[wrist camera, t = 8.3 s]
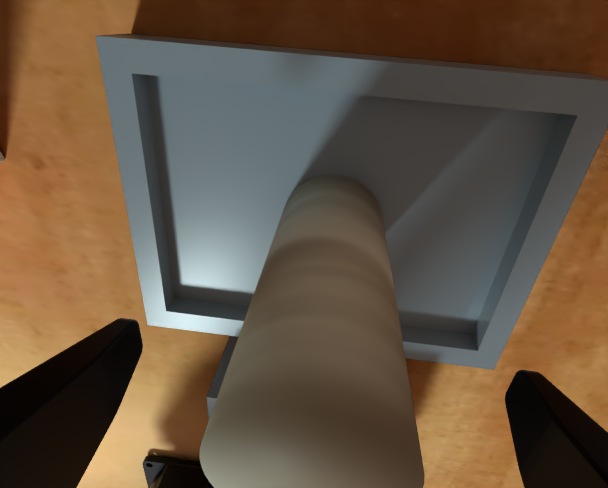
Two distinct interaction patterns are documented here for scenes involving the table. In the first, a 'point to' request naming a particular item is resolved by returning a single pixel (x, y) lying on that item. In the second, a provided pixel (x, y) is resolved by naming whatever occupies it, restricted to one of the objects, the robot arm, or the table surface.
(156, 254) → the tray
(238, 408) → the dowel
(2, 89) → the table surface
